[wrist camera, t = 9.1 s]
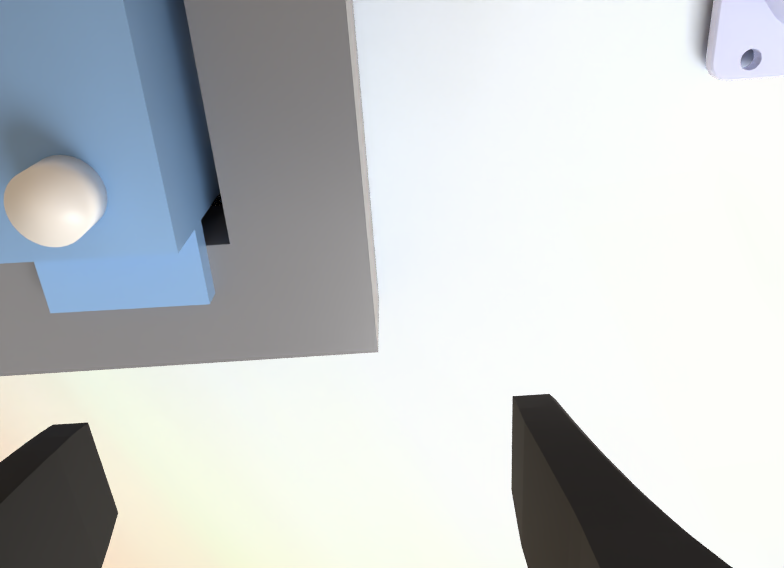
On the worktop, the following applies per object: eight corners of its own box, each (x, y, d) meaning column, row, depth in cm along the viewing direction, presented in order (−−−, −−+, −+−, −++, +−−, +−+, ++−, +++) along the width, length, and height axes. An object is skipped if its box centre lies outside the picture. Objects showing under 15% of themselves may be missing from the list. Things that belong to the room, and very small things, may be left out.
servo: (168, -152, 16) (53, -206, 10) (237, 246, 20) (184, 356, 15) (-4, -141, 16) (-207, -188, 10) (104, 254, 20) (1, 366, 15)
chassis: (328, -272, 15) (315, -322, 12) (379, 299, 21) (378, 352, 18) (-214, -226, 15) (-346, -264, 12) (-4, 325, 21) (-62, 380, 18)
